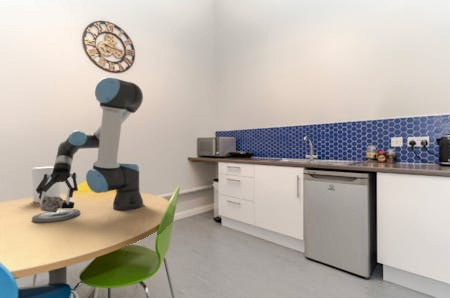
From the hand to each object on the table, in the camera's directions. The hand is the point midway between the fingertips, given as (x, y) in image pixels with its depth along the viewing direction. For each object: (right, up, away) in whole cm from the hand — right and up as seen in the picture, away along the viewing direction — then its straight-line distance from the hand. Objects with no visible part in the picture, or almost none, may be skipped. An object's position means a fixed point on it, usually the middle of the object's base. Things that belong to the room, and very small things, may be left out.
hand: (54, 203), depth 119 cm
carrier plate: (-1, -7, +3) cm, 7 cm away
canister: (-31, -6, +40) cm, 51 cm away
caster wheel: (0, -4, +5) cm, 6 cm away
